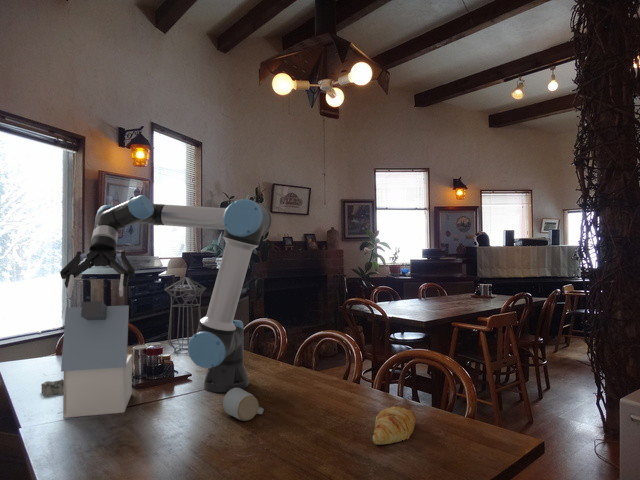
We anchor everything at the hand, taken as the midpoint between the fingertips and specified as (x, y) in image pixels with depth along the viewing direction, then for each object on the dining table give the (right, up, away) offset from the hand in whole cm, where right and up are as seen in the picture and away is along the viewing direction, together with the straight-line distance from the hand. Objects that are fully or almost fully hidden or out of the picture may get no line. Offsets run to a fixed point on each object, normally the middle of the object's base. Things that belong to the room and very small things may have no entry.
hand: (95, 294), depth 133 cm
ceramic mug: (+43, -35, -1) cm, 56 cm away
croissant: (+84, -34, -14) cm, 91 cm away
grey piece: (-23, -36, +23) cm, 48 cm away
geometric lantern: (+1, -37, +86) cm, 93 cm away
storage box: (-3, -35, +8) cm, 36 cm away
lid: (-1, -13, +3) cm, 13 cm away
